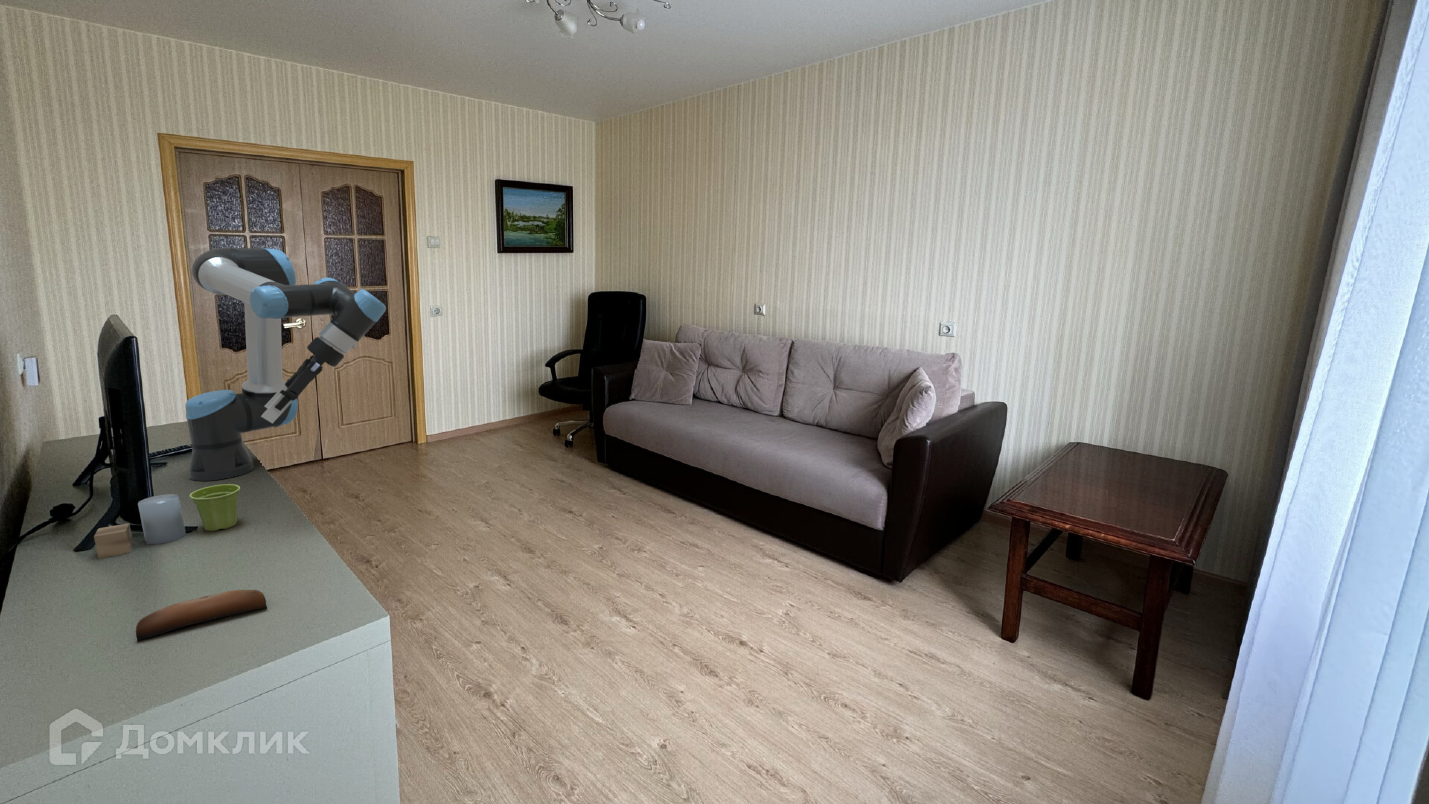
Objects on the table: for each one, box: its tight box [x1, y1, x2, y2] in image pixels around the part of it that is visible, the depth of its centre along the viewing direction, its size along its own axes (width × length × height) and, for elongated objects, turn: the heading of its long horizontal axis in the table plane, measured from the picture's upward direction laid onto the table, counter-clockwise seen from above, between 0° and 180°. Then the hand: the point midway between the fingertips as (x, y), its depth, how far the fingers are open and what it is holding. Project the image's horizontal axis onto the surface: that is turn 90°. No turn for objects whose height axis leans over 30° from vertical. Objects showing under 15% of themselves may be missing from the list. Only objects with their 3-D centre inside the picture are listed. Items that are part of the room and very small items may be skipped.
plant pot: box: [189, 483, 241, 532], centre depth 153 cm, size 9×9×9 cm
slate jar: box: [137, 493, 187, 545], centre depth 147 cm, size 7×7×9 cm
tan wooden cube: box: [93, 523, 134, 559], centre depth 140 cm, size 5×5×5 cm
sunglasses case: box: [135, 589, 268, 642], centre depth 116 cm, size 18×7×7 cm
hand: (268, 414), depth 155 cm, fingers open, 13 cm apart
